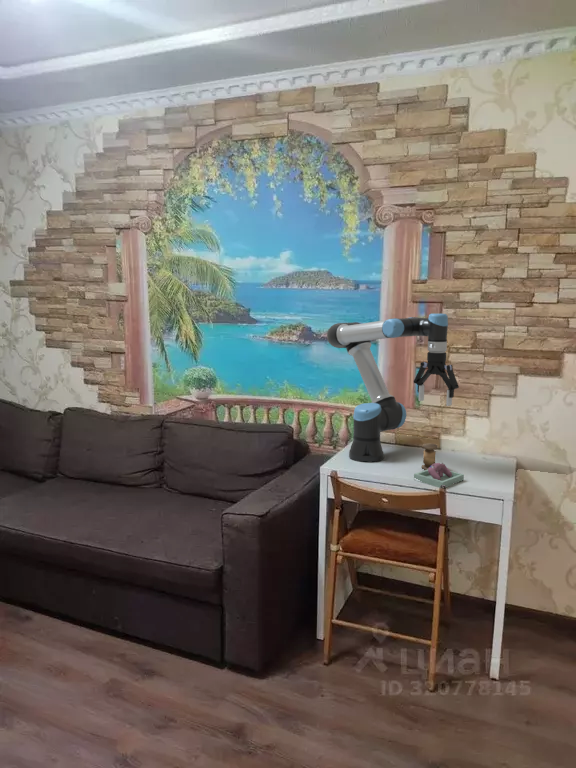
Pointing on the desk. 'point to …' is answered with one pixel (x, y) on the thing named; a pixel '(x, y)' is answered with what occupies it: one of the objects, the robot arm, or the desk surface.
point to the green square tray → (445, 480)
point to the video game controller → (439, 471)
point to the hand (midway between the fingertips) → (434, 403)
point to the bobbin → (428, 455)
